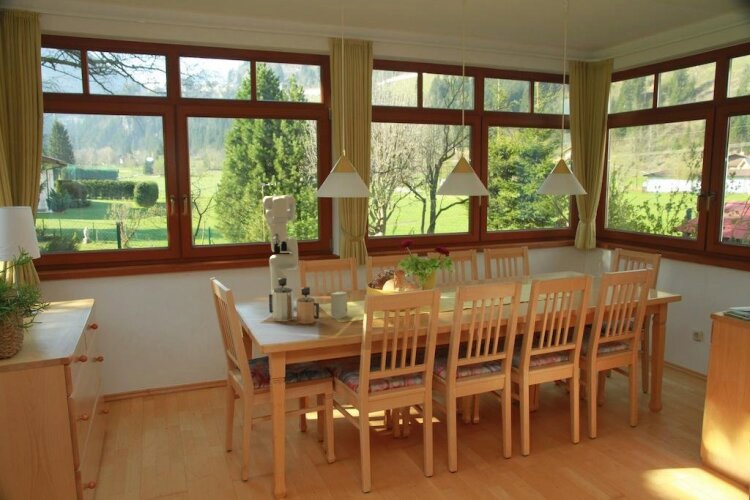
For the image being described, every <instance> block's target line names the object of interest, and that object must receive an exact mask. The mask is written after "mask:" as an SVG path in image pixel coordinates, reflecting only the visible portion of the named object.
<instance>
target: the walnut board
mask: <svg viewBox="0 0 750 500" xmlns="http://www.w3.org/2000/svg"><path fill="white" fill-rule="evenodd" d="M324 319H325V317H319V318H318V319H316V318H315V323H312V324H299V323H297V315H294V318H293V320H292V321H288V322H277V321H274V320H273V314H272V315H271V316H270V317H267V318H266V319H264V320H263V321H261V322H260V324H271V325H283V326H284V325H285V326H296V327H297V326H298V327H312V328H313V327H315V326H317V325H318V324H319V323H321V322H322V321H323V320H324Z"/></svg>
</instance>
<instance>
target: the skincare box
mask: <svg viewBox="0 0 750 500" xmlns="http://www.w3.org/2000/svg"><path fill="white" fill-rule="evenodd" d="M330 317H331V319H336V320H340V319H342V318H346V317H348V292H347V291H335V292H333V293H330Z"/></svg>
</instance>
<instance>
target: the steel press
mask: <svg viewBox="0 0 750 500" xmlns="http://www.w3.org/2000/svg"><path fill="white" fill-rule="evenodd" d="M272 302H273V308H272ZM268 307H269V314H272V315H273V320H274V321H277V322H288V321H292V320H293V318H294V316H295V315H294V312H295V311H294V310H295V309H294V308H295V307H294V290H293V289H292V288H290V287H287V288H284V290H282V288H276V289H273V291H272V294H271V293H269V294H268Z"/></svg>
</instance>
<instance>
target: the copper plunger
mask: <svg viewBox="0 0 750 500" xmlns="http://www.w3.org/2000/svg"><path fill="white" fill-rule="evenodd" d="M301 295H302V296H304V298H305V300H307V297H308V296H309V295H311V287H309V286H303V287H301Z"/></svg>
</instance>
